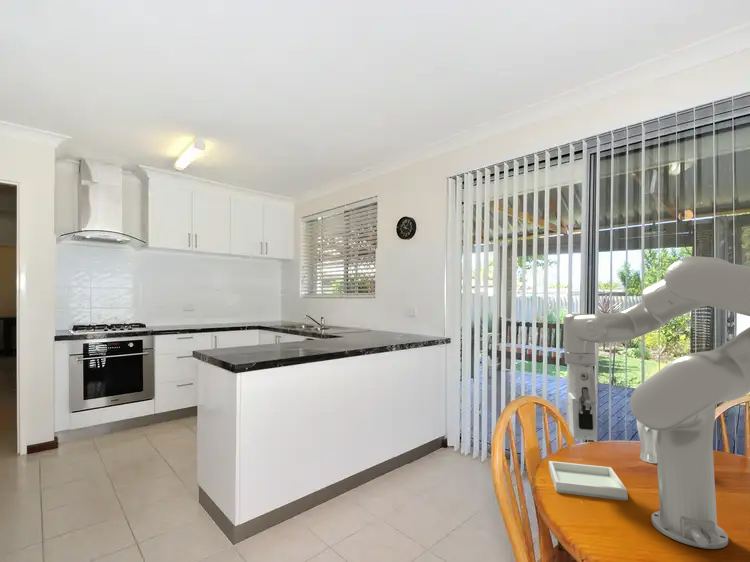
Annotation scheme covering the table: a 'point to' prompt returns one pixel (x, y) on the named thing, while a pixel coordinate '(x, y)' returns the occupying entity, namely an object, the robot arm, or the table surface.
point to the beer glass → (647, 443)
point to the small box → (574, 420)
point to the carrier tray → (587, 480)
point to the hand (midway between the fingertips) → (582, 423)
